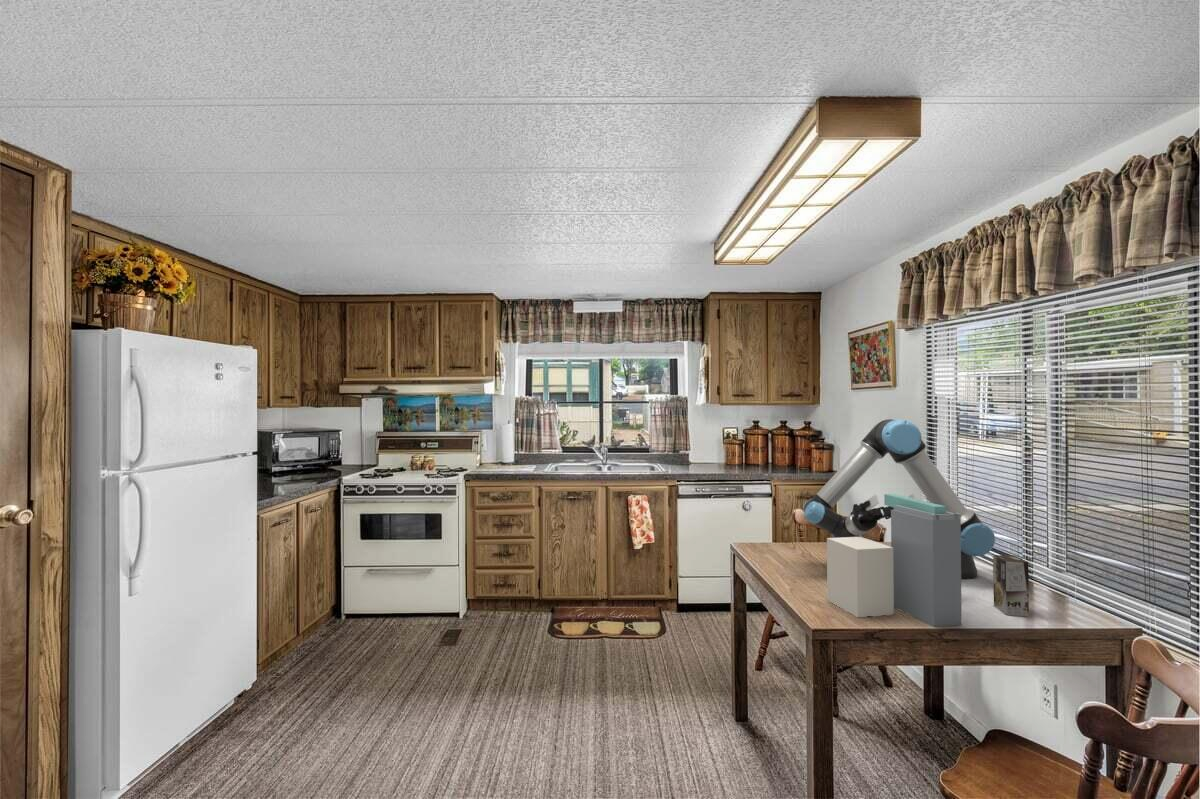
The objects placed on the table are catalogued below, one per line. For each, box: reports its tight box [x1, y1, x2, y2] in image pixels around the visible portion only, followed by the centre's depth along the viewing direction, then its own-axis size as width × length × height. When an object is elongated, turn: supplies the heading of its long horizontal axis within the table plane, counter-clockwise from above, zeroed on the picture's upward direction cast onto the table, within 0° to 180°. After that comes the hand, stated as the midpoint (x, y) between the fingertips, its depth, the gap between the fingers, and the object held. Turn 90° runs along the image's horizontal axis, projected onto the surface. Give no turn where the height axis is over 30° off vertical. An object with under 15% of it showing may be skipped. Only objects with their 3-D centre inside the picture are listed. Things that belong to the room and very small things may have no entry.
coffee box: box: [992, 554, 1030, 617], centre depth 185 cm, size 9×6×16 cm
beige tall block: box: [826, 536, 895, 618], centre depth 189 cm, size 12×16×20 cm
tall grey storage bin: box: [890, 505, 963, 628], centre depth 182 cm, size 9×18×32 cm, turn 11°
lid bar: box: [883, 493, 946, 514], centre depth 187 cm, size 4×26×4 cm, turn 6°
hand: (896, 498), depth 194 cm, fingers open, 13 cm apart
